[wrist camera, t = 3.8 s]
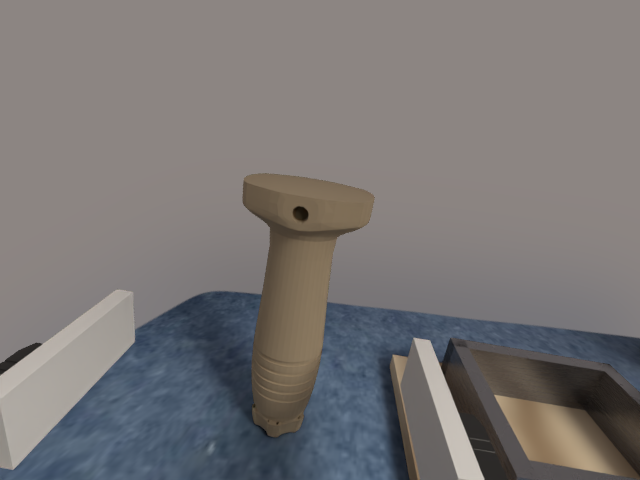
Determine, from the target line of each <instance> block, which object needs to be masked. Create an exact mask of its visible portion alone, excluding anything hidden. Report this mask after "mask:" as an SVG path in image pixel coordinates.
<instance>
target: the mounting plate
mask: <svg viewBox="0 0 640 480" xmlns="http://www.w3.org/2000/svg"><path fill="white" fill-rule="evenodd" d="M407 359H408V357H405V356H399V355H393V356H392V360H391V363H390V371H391V377H392V382H393V388H394V394H395V399H396V405H397V411H398V417H399V422H400V428H401V434H402V439H403V445H404V451H405V456H406V462H407V468H408V473H409V479H410V480H420V477H419V472H418V467H417V463H416V458H415V453H414V449H413V444H412V439H411V434H410V430H409V425H408V420H407V415H406V411H405V406H404V401H403V397H402V392H401V387H400V384H401V381H402V377H403V374H404V370H405V366H406V363H407ZM439 365H440V367H441V366H442V363H440V362H439ZM494 396H495V398H496V400H497V402H498V404H499V405H500V407H501V409H502V411H503V413H504V415H505V417H506V418H507V420H508V422H509V424H510V426H511V428H512V430H513V431H514V433H515V435H516V437H517V439H518V441H519V443H520V444H521V446H522V448H523V450H524V452H525V454H526V456H527V457H528V459H529V460H531V461H537V462H543V463H549V464H554V465H560V466H566V467H571V468H577V469H583V470H589V471H594V472H600V473H606V474H612V475H617V476H623V477H629V478H634V479H640V476H639V475H638V474H637V473H636V471H635V470H634V469H633V468H632V466H631V465H630V464H629V463H628V462H627V460H626V459H625V458H624V457H623V456H622V454H621V453H620V452H619V451H618V450H617V448H616V447H615V446H614V445H613V443H612V442H611V441H610V440H609V439H608V437H607V436H606V435H605V434H604V433H603V431H602V430H601V429H600V428H599V427H598V425H597V424H596V423H595V422H594V420H593V419H592V418H591V417H590V416H589V414H588V413H587V412H586V411H585V410H581V409H575V408H569V407H563V406H557V405H552V404H546V403H540V402H534V401H528V400H522V399H517V398H511V397H505V396H499V395H494Z"/></svg>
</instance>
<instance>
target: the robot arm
mask: <svg viewBox="0 0 640 480" xmlns="http://www.w3.org/2000/svg"><path fill="white" fill-rule="evenodd" d="M134 342H135V327H134V300H133V292H131V291H125V290H119V289H117V290H115V291H114V292H113V293H111V294H110V295H109V296H107V297H106V298H104V299H103V300H102V301H100V302H99V303H98V304H96V305H95V306H94V307H92V308H91V309H90V310H88V311H87V312H86V313H84V314H83V315H82V316H80V317H79V318H77V319H76V320H75V321H73V322H72V323H71V324H69V325H68V326H67V327H65V328H64V329H63V330H61V331H60V332H59V333H57V334H56V335H55V336H53V337H52V338H50V339H49V340H48V341H46V342H45V343H44V344H41V343H35V344H32V345H30V346H28V347H26V348H23V349H21V350H19V351H17V352H16V353H15V354H13V355H12V356H10V357H9V358H7V359H6V360H5V362H2V363H0V468H6V469H12V470H14V468H15V467H16V466H17V465H18V464H19V463H20V462H21V461H22V460H23V459H24V458H25V457H26V456H27V455H28V454H29V453H30V452H31V451H32V450H33V448H34V447H35V446H36V445H37V444H38V443H39V442H40V441H41V440H42V439H43V438H44V437H45V436H46V435H47V434H48V433H49V432H50V431H51V429H52V428H53V427H54V426H55V425H56V424H57V423H58V422H59V421H60V420H61V419H62V418H63V417H64V416H65V415H66V414H67V413H68V412H69V411H70V409H71V408H72V407H73V406H74V405H75V404H76V403H77V402H78V401H79V400H80V399H81V398H82V397H83V396H84V395H85V394H86V393H87V392H88V391H89V389H90V388H91V387H92V386H93V385H94V384H95V383H96V382H97V381H98V380H99V379H100V378H101V377H102V376H103V375H104V374H105V373H106V372H107V371H108V369H109V368H110V367H111V366H112V365H113V364H114V363H115V362H116V361H117V360H118V359H119V358H120V357H121V356H122V355H123V354H124V353H125V352H126V350H127V349H128V348H129V347H130V346H131V345H132V344H133V343H134ZM400 387H401V392H402V397H403V401H404V406H405V411H406V415H407V420H408V425H409V430H410V434H411V439H412V444H413V449H414V453H415V458H416V463H417V467H418V472H419V477H420V480H508V478H507V476H506V474H505V471H504V469H503V467H502V465H501V463H500V460H499V458H498V456H497V454H495V450H494V447H493V445H492V443H490V439H489V436H488V434H487V432H486V430H485V428H484V426H483V425H482V424H481V423H480V422H479V420H478V419H477V418H476V417H475V416H474V415H472V414H466V413H460V412H458V411H457V408H456V406H455V403H454V401H453V398H452V395H451V393H450V390H449V388H448V385H447V383H446V380H445V378H444V375H443V372H442V370H441V367H440V365H439V362H438V360H437V357H436V355H435V352H434V349H433V347H432V344H431V342H430V340H424V339H418V338H413V341H412V345H411V348H410V352H409V356H408V359H407V363H406V366H405V370H404V374H403V377H402V381H401V384H400Z"/></svg>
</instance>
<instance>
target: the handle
mask: <svg viewBox="0 0 640 480" xmlns="http://www.w3.org/2000/svg"><path fill="white" fill-rule="evenodd" d="M374 198H375V197H374V196H373V195H372V194H371V193H369V192H367V191H365V190H362V189H359V188H355V187H351V186H347V185H343V184H338V183H334V182H328V181H323V180H317V179H310V178H305V177H297V176H289V175H278V174H267V173H265V174H252V175H249V176H246V177H245V178H244V184H243V204H244V206H245V207H246V208H247V209H248V210H249V211H250V212H252V213H253V214H254V215H256V216H257V217H259V218H260V219H261V220H263V221H264V222H265V223H267V225H268V226H269V227H270V247H269V253H268V260H267V266H266V273H265V279H264V285H263V291H262V297H261V302H260V308H259V314H258V319H257V325H256V330H255V336H254V345H253V355H252V392H253V400H254V404H253V405H252V415H253V421H254V423H255V424H256V425H259V426H261V427H262V428H263V429H264V430H265V431H266V432H267V435H269V436H271V437H279V435H281V434H284V433H288V432H296V431H297V430H298V429H299V428H300V426H301V424H302V421H303V418H304V415H303V412H304V409H305V408H306V406H307V404H308V401H309V399H310V396H311V394H312V391H313V387H314V384H315V380H316V377H317V373H318V369H319V364H320V358H321V353H322V347H323V337H324V327H325V317H326V307H327V296H328V289H329V280H330V272H331V264H332V256H333V251H334V248H335V244H336V240H337V237H339V236H340V235H342V234H345V233H349V232H352V231H355V230H358V229H360V228H362V227H364V226H365V225H367V224H368V223H369V220H370V217H371V212H372V208H373V203H374Z"/></svg>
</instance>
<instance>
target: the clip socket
mask: <svg viewBox="0 0 640 480" xmlns="http://www.w3.org/2000/svg"><path fill="white" fill-rule="evenodd" d="M441 370H442V372H443V375H444V378H445V380H446V383H447V385H448V388H449V390H450V393H451V395H452V398H453V401H454V403H455V406H456V408H457V411H458V412H460V413H466V414H472V415H474V416H475V417H476V418H477V419H478V420H479V422H480V423H481V424H482V425H483V426H484V428H485V430H486V432H487V434H488V436H489V439H490V443H492V445H493V447H494V450H495V454H497V456H498V458H499V460H500V463H501V465H502V467H503V469H504V471H505V474H506V476H507V478H508V480H640V479H634V478H629V477H623V476H617V475H612V474H606V473H600V472H594V471H589V470H583V469H577V468H571V467H566V466H560V465H554V464H549V463H543V462H537V461H531V460H529V459H528V457H527V456H526V454H525V452H524V450H523V448H522V446H521V444H520V443H519V441H518V439H517V437H516V435H515V433H514V431H513V430H512V428H511V426H510V424H509V422H508V420H507V418H506V417H505V415H504V413H503V411H502V409H501V407H500V405H499V404H498V402H497V400H496V398H495V396H494V395H499V396H505V397H511V398H517V399H522V400H528V401H534V402H540V403H546V404H552V405H557V406H563V407H569V408H575V409H581V410H585V411H586V412H587V413H588V414H589V416H590V417H591V418H592V419H593V420H594V422H595V423H596V424H597V425H598V427H599V428H600V429H601V430H602V431H603V433H604V434H605V435H606V436H607V437H608V439H609V440H610V441H611V442H612V443H613V445H614V446H615V447H616V448H617V450H618V451H619V452H620V453H621V454H622V456H623V457H624V458H625V459H626V460H627V462H628V463H629V464H630V465H631V466H632V468H633V469H634V470H635V471H636V473H637V474H638V475H639V476H640V392H639V391H638V390H637V389H636V388H634V387H633V386H632V385H631V384H630V383H629V382H628V381H627V380H626V379H625V378H624V377H623V376H621V375H620V374H619V373H618V372H617V371H616V370H615V369H614V368H613V367H612V366H611V365H610V364H605V363H599V362H593V361H587V360H581V359H575V358H569V357H563V356H557V355H551V354H545V353H540V352H534V351H528V350H522V349H516V348H510V347H504V346H498V345H492V344H486V343H480V342H474V341H468V340H462V339H456V338H450V341H449V344H448V347H447V350H446V353H445V356H444V359H443V362H442V366H441Z"/></svg>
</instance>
